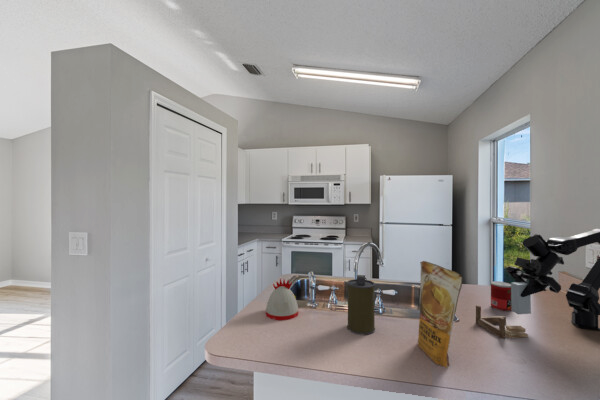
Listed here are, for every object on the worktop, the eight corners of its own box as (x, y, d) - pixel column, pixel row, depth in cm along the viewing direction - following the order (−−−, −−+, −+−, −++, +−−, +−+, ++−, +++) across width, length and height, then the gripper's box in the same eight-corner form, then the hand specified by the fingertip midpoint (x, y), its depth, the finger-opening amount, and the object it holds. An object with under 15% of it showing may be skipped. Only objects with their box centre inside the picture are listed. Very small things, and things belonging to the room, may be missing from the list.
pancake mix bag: (429, 339, 101) (429, 259, 101) (464, 371, 82) (464, 273, 82) (410, 340, 101) (410, 259, 101) (442, 372, 82) (442, 273, 82)
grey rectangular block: (523, 310, 112) (522, 281, 112) (530, 313, 108) (530, 284, 108) (511, 311, 111) (511, 282, 111) (518, 314, 108) (518, 284, 108)
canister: (375, 336, 104) (376, 280, 104) (346, 333, 106) (346, 278, 106) (374, 323, 114) (374, 273, 114) (347, 321, 116) (347, 271, 116)
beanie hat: (297, 320, 117) (297, 283, 117) (263, 320, 117) (264, 283, 117) (298, 307, 131) (298, 274, 131) (268, 307, 131) (268, 274, 131)
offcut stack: (519, 333, 106) (519, 324, 106) (528, 337, 103) (528, 329, 103) (502, 333, 105) (502, 325, 105) (510, 338, 102) (510, 330, 102)
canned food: (511, 312, 126) (511, 287, 126) (490, 308, 131) (490, 283, 131) (512, 307, 132) (512, 283, 132) (491, 303, 137) (491, 280, 137)
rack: (503, 321, 116) (503, 304, 116) (532, 337, 103) (532, 317, 103) (475, 323, 115) (475, 305, 115) (501, 338, 102) (501, 318, 102)
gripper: (509, 246, 119) (485, 274, 118) (553, 255, 101) (524, 288, 100) (527, 264, 120) (503, 292, 119) (574, 276, 102) (546, 309, 100)
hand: (517, 294), depth 110 cm, fingers closed on grey rectangular block, 3 cm apart
